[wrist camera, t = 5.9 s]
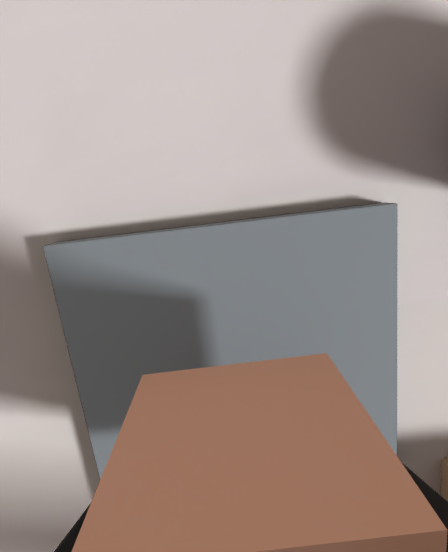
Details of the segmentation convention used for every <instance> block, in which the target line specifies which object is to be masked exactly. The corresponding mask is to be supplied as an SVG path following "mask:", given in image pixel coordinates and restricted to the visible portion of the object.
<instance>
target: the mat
mask: <svg viewBox="0 0 448 552" xmlns="http://www.w3.org/2000/svg"><path fill="white" fill-rule="evenodd" d="M43 249H44V253H45V257H46V261H47V265H48V269H49V273H50V277H51V281H52V286H53V290H54V294H55V298H56V302H57V306H58V310H59V314H60V318H61V322H62V326H63V330H64V334H65V338H66V342H67V347H68V351H69V355H70V359H71V363H72V367H73V371H74V375H75V379H76V383H77V387H78V391H79V395H80V399H81V403H82V408H83V412H84V416H85V420H86V424H87V428H88V432H89V436H90V440H91V444H92V448H93V452H94V456H95V460H96V465H97V469H98V473H99V477H100V479H101V477H102V474H103V472H104V469H105V467H106V464H107V462H108V459H109V457H110V454H111V452H112V449H113V447H114V444H115V442H116V440H117V437H118V435H119V432H120V430H121V427H122V425H123V422H124V420H125V417H126V415H127V412H128V410H129V407H130V405H131V402H132V400H133V397H134V395H135V392H136V390H137V387H138V385H139V382H140V380H141V377H142V375H145V374H154V373H162V372H171V371H179V370H188V369H196V368H205V367H213V366H222V365H230V364H238V363H247V362H255V361H264V360H272V359H281V358H289V357H298V356H306V355H315V354H323V353H327V354H328V356H329V357H330V358H331V360H332V361H333V363H334V364H335V366H336V367H337V369H338V370H339V372H340V373H341V375H342V376H343V377H344V379H345V380H346V382H347V383H348V385H349V386H350V388H351V389H352V391H353V392H354V394H355V395H356V397H357V398H358V399H359V401H360V402H361V404H362V405H363V407H364V408H365V410H366V411H367V413H368V414H369V416H370V417H371V419H372V420H373V421H374V423H375V424H376V426H377V427H378V429H379V430H380V432H381V433H382V435H383V436H384V438H385V439H386V441H387V442H388V443H389V445H390V446H391V448H392V449H393V451H394V452H395V454H396V455H397V204H396V203H376V204H368V205H360V206H352V207H343V208H335V209H327V210H319V211H310V212H302V213H294V214H285V215H277V216H269V217H261V218H252V219H244V220H236V221H228V222H219V223H211V224H203V225H195V226H186V227H178V228H170V229H161V230H153V231H145V232H137V233H128V234H120V235H112V236H104V237H95V238H87V239H79V240H70V241H62V242H55V243H52V244H49V245H46V246H43Z"/></svg>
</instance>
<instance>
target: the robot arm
mask: <svg viewBox="0 0 448 552" xmlns="http://www.w3.org/2000/svg"><path fill="white" fill-rule="evenodd" d="M401 463H402V462H401ZM402 464H403V463H402ZM403 465H404V464H403ZM404 467H405V468H406V470H407V471H408V473H409V474H410V476H411V477H412V479H413V480H414V482H415V483H416V485H417V486H418V487H419V489H420V490H421V492H422V493H423V495H424V496H425V498H426V499H427V501H428V502H429V504H430V505H431V507H432V508H433V509H434V511H435V512H436V514H437V515H438V517H439V518H440V520H441V521H442V523H443V524H444V526H445V527H446V529H447V548H446V552H448V501H447V500H445V499H444V498H443V497H442V496H441V495H439V494H438V493H437V492H436V491H434V490H433V489H432V488H431V487H430V486H429V485H427V484H426V483H425V482H424V481H423V480H421V479H420V478H419V477H418V476H417V475H416V474H414V473H413V472H412V471H411V470H410V469H409V468H408V467H406V466H405V465H404ZM90 504H91V503H90ZM89 507H90V505H89V506H88V508H87V509H86V510H85V512H84V513H83V514H82V516H81V517H80V518H79V520H78V521H77V522H76V524H75V525H74V526H73V528H72V529H71V530H70V531H69V533H68V534H67V535H66V537H65V538H64V539H63V541H62V542H61V543H60V545H59V546H58V547H57V548H56V550H55V551H54V552H72V549H73V547H74V544H75V542H76V539H77V537H78V534H79V532H80V529H81V527H82V524H83V522H84V519H85V517H86V514H87V512H88V509H89Z"/></svg>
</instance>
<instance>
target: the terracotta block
mask: <svg viewBox="0 0 448 552" xmlns="http://www.w3.org/2000/svg"><path fill="white" fill-rule="evenodd" d="M446 548H447V529H446V527H445V526H444V524H443V523H442V521H441V520H440V518H439V517H438V515H437V514H436V512H435V511H434V509H433V508H432V507H431V505H430V504H429V502H428V501H427V499H426V498H425V496H424V495H423V493H422V492H421V490H420V489H419V487H418V486H417V485H416V483H415V482H414V480H413V479H412V477H411V476H410V474H409V473H408V471H407V470H406V468H405V467H404V465H403V464H402V463H401V461H400V460H399V458H398V457H397V455H396V454H395V452H394V451H393V449H392V448H391V446H390V445H389V443H388V442H387V441H386V439H385V438H384V436H383V435H382V433H381V432H380V430H379V429H378V427H377V426H376V424H375V423H374V421H373V420H372V419H371V417H370V416H369V414H368V413H367V411H366V410H365V408H364V407H363V405H362V404H361V402H360V401H359V399H358V398H357V397H356V395H355V394H354V392H353V391H352V389H351V388H350V386H349V385H348V383H347V382H346V380H345V379H344V377H343V376H342V375H341V373H340V372H339V370H338V369H337V367H336V366H335V364H334V363H333V361H332V360H331V358H330V357H329V356H328V354H327V353H323V354H315V355H306V356H298V357H289V358H281V359H272V360H264V361H255V362H247V363H238V364H230V365H222V366H213V367H205V368H196V369H188V370H179V371H171V372H162V373H154V374H145V375H142V377H141V380H140V382H139V385H138V387H137V390H136V392H135V395H134V397H133V400H132V402H131V405H130V407H129V410H128V412H127V415H126V417H125V420H124V422H123V425H122V427H121V430H120V432H119V435H118V437H117V440H116V442H115V444H114V447H113V449H112V452H111V454H110V457H109V459H108V462H107V464H106V467H105V469H104V472H103V474H102V477H101V479H100V482H99V484H98V487H97V489H96V492H95V494H94V497H93V499H92V502H91V504H90V507H89V509H88V512H87V514H86V517H85V519H84V522H83V524H82V527H81V529H80V532H79V534H78V537H77V539H76V542H75V544H74V547H73V549H72V552H446Z"/></svg>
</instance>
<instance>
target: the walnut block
mask: <svg viewBox="0 0 448 552" xmlns="http://www.w3.org/2000/svg"><path fill="white" fill-rule="evenodd" d="M440 495H441V496H442V497H443V498H444V499H445V500H447V501H448V458H445V459H442V462H441V482H440Z"/></svg>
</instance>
